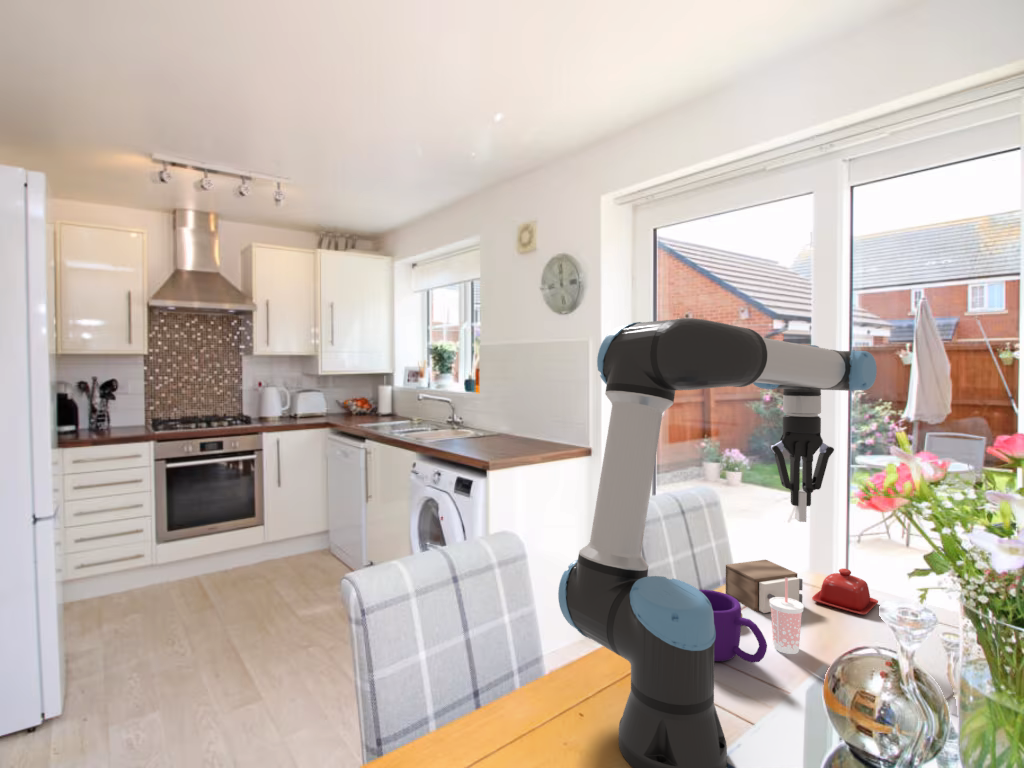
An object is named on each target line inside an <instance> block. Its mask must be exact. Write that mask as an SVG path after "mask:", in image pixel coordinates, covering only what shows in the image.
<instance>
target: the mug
mask: <svg viewBox="0 0 1024 768" xmlns="http://www.w3.org/2000/svg"><path fill="white" fill-rule="evenodd" d="M699 590H700V591H701V592H702V593H703V594H704V595H705V596H706V597H707V598H708V600H709V601H710V603H711V605H712V609H713V614H714V625H715V631H716V637H715V645H714V662H725V661H729V660H731V659H733V658H734V657H736V656H737V657H738V658H740V659H742V660H743V661H746V662H749V663H750V664H751V663H760V662H761V661H763V660H762V659H764V657H765V655H766V653H767V649H768V643H767V641H766V638H765V635H764V634H763V632H762V631H761V629H760V628H759V626H758V625H757V624H756V622H754V621H752V620H751V619H750V618H747V617H742V618H741V613H742V606H741V605H742V604H741V603H740V602H739V601H738V600H737V599H735V598H734V597H732V596H730V595H727V594H726V593H725V592H722V591H721V592H720V591H716V590H711V589H710V590H709V589H699ZM741 626H744V627H747V628H749V630H751V632H752V634H754V637H755V638H756V641H757V643H758V648H757V650H756V652H755V653H754V654H752V653H749V652H746V651H744V650H742V649H741V648H740V641H741V632H742V631H741V630H742V629H741V628H742V627H741Z"/></svg>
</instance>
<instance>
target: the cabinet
mask: <svg viewBox="0 0 1024 768" xmlns="http://www.w3.org/2000/svg"><path fill="white" fill-rule="evenodd" d="M785 577H787V578H788V577H796V578H798V573H797V572H796V571H793V570H790V569H788V568H786V567H784V566H782V565H780V564H776V563H774V562H772V561H771V560H768V559H761V560H751V561H743V562H737V563H736V562H735V563H730V564H729V563H728V564H727V563H726V564H725V594H727V595H730V596H732V597H734V598H735V599H737V600H738V601H739V603H740V604H741V605H743V606H745V607H747V609H750V610H752V611H753V612H755V611H756V612H760V611H759V582H763V581H769V580H775V579H782V578H785Z"/></svg>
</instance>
